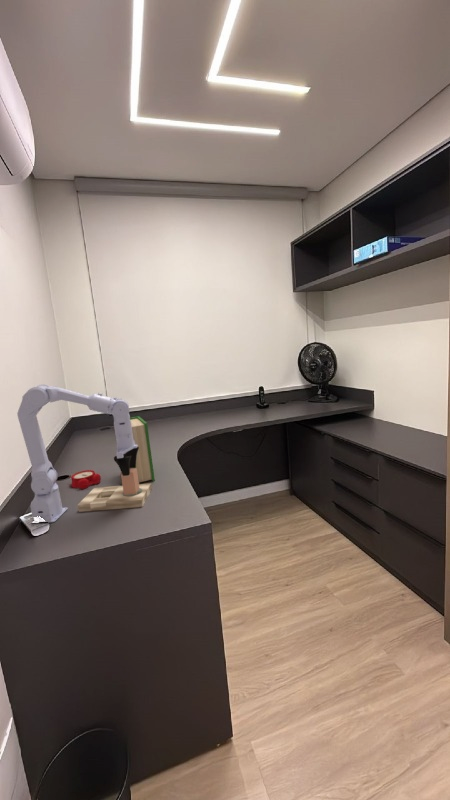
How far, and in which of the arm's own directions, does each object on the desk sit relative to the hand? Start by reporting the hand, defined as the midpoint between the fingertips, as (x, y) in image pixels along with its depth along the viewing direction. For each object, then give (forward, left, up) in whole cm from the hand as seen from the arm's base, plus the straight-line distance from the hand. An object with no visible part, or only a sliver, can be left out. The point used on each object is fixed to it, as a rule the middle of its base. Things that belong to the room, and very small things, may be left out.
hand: (129, 471), depth 122 cm
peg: (0, 0, -8) cm, 8 cm away
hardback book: (+22, +3, -11) cm, 25 cm away
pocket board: (0, +6, -10) cm, 12 cm away
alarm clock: (+19, +25, -11) cm, 33 cm away
